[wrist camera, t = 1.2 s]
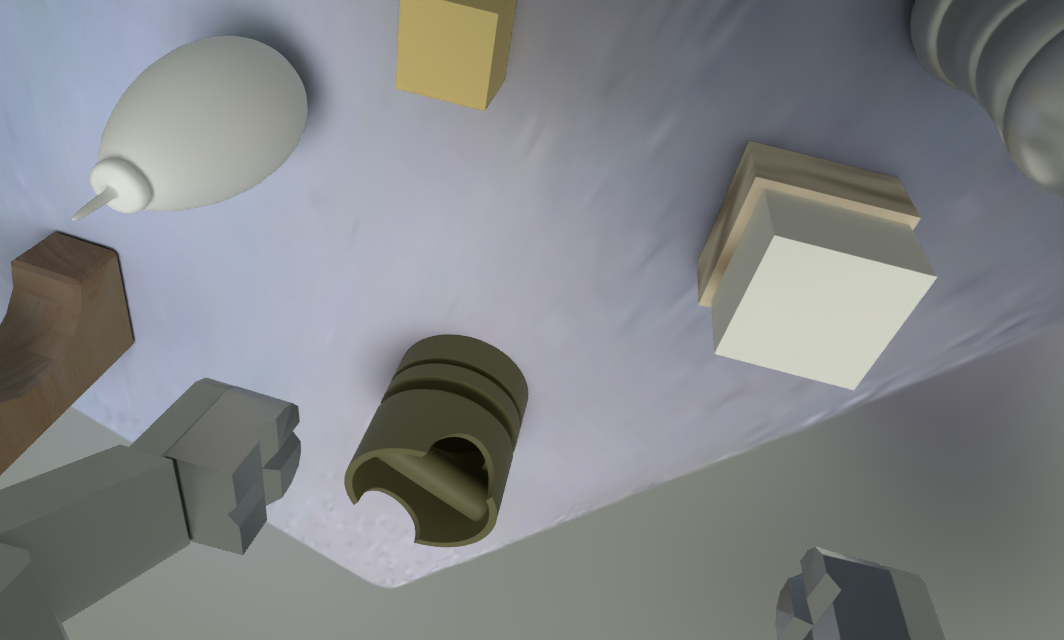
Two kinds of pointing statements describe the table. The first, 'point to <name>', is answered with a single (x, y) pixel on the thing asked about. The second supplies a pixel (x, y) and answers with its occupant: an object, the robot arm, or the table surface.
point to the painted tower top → (817, 289)
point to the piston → (444, 438)
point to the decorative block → (57, 335)
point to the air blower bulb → (199, 128)
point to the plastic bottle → (1004, 72)
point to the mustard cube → (454, 49)
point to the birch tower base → (798, 179)
